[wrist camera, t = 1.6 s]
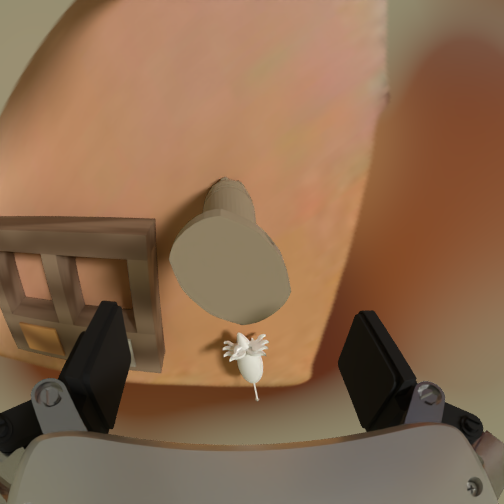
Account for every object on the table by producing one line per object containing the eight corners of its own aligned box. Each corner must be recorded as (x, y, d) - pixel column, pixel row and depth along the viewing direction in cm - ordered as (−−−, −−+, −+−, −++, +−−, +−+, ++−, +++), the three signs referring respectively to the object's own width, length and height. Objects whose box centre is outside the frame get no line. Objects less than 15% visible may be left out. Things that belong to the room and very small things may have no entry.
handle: (230, 231, 29) (237, 337, 16) (186, 184, 27) (150, 261, 14) (268, 201, 28) (309, 289, 15) (225, 150, 26) (226, 195, 12)
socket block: (-5, 216, 25) (-25, 230, 22) (155, 218, 28) (145, 236, 24) (29, 330, 33) (17, 349, 30) (165, 350, 36) (160, 375, 32)
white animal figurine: (219, 323, 35) (219, 351, 30) (264, 316, 35) (269, 344, 30) (236, 383, 40) (238, 409, 36) (273, 377, 40) (278, 403, 36)
